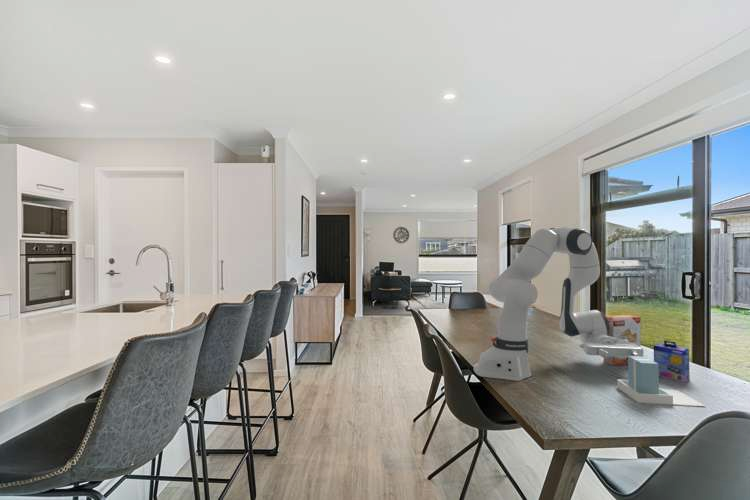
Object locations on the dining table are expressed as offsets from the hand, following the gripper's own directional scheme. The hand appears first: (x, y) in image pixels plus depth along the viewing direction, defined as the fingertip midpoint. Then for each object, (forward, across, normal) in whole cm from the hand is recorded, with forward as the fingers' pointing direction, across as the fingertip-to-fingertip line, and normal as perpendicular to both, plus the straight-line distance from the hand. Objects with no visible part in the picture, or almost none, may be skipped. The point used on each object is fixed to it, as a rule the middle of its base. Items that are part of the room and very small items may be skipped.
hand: (622, 355), depth 130 cm
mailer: (+13, +5, +10) cm, 17 cm away
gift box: (+12, 0, +10) cm, 16 cm away
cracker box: (-25, +12, +10) cm, 30 cm away
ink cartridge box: (-8, +21, +10) cm, 25 cm away
